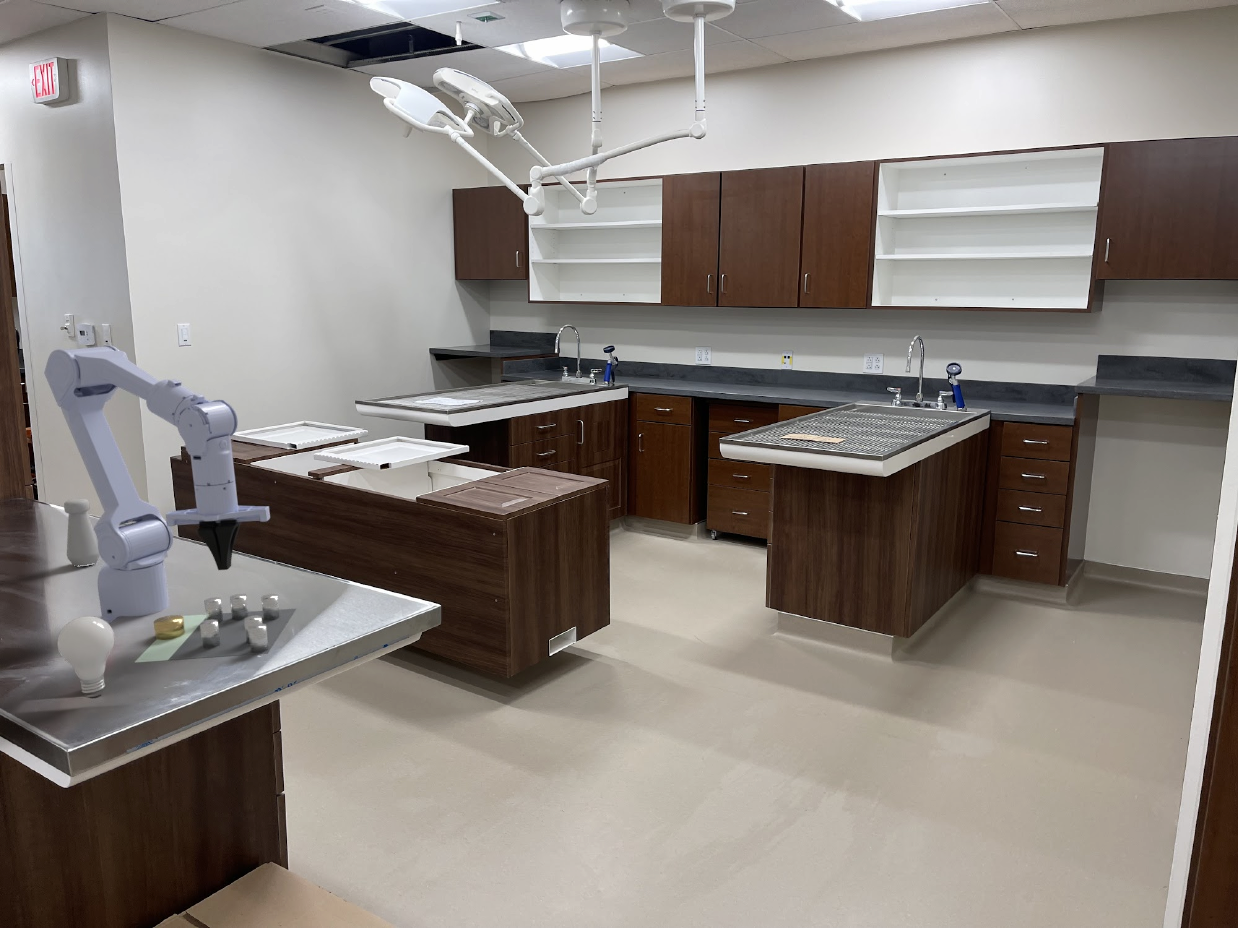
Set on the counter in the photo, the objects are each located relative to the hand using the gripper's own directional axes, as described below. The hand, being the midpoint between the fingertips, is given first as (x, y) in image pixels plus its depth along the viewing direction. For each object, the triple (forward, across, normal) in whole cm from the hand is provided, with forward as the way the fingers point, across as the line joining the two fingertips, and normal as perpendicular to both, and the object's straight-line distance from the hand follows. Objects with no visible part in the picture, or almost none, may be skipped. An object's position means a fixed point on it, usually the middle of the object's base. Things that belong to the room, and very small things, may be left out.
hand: (224, 568), depth 139 cm
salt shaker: (+10, -39, +41) cm, 57 cm away
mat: (+10, 0, -5) cm, 11 cm away
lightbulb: (+10, -11, -22) cm, 27 cm away
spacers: (+9, +3, -6) cm, 11 cm away
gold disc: (+9, -8, -4) cm, 12 cm away
